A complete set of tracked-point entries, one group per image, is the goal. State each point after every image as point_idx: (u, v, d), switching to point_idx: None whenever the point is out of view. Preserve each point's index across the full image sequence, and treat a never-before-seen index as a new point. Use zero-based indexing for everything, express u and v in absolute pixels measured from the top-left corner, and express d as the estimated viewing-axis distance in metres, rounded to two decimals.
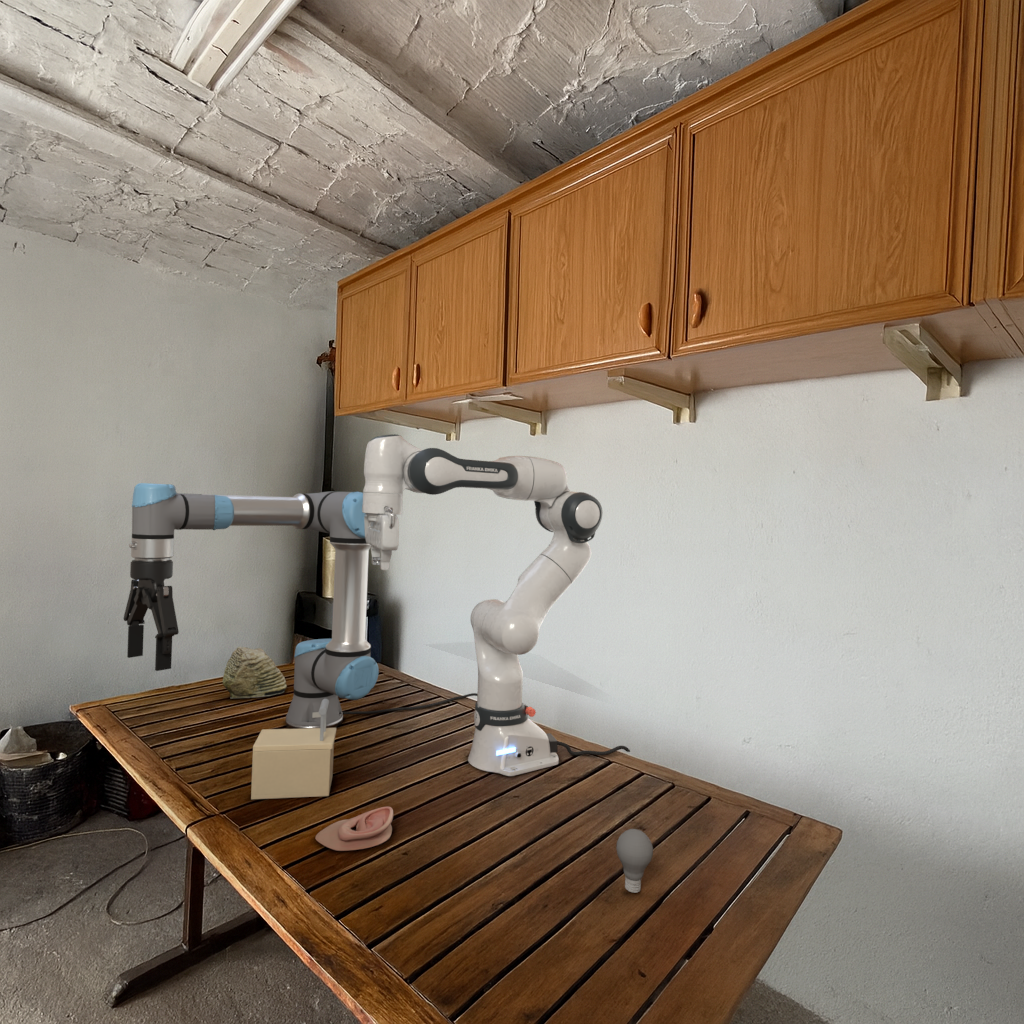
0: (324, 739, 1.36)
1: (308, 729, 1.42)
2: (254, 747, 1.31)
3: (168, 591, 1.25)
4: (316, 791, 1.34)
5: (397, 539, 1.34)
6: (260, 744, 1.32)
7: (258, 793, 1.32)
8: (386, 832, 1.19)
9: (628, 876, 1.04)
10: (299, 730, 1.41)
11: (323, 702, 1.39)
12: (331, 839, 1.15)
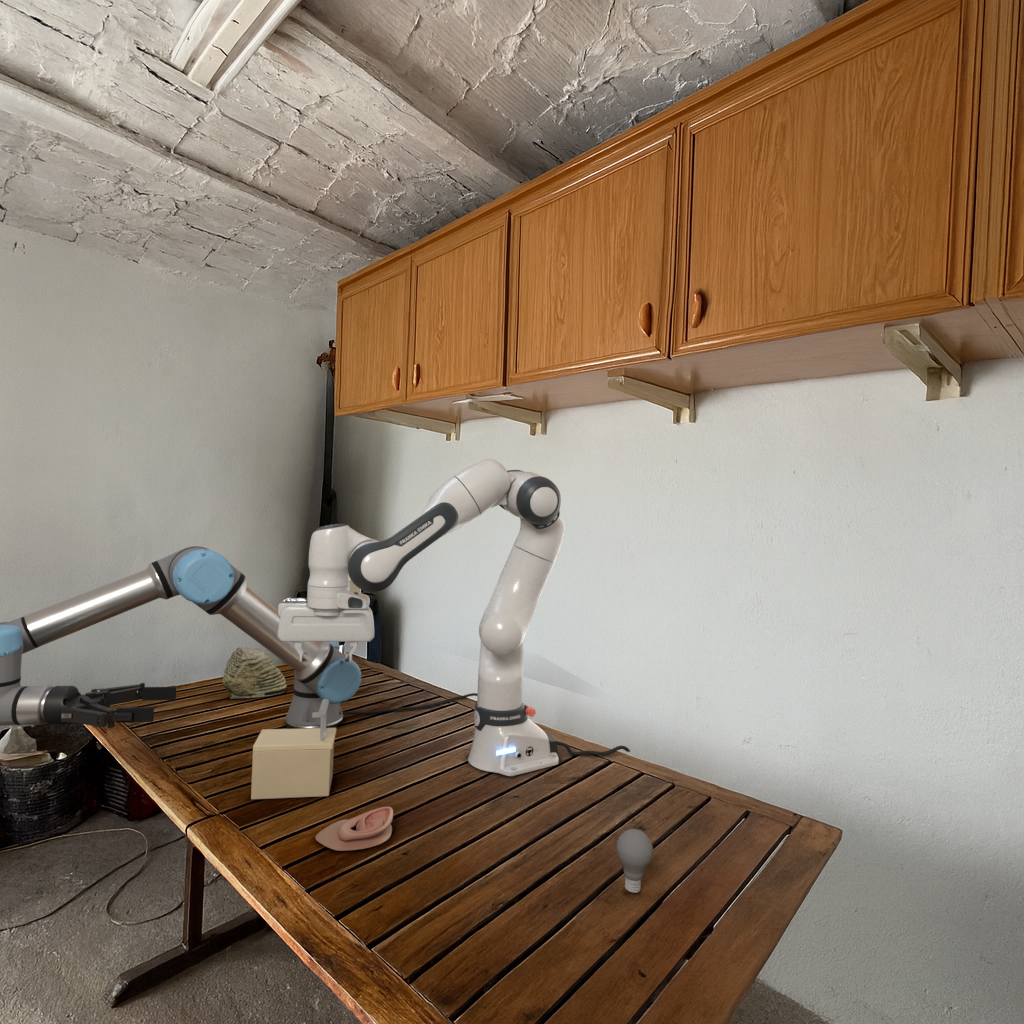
0: (324, 739, 1.36)
1: (308, 729, 1.42)
2: (254, 747, 1.31)
3: (66, 713, 1.22)
4: (316, 791, 1.34)
5: (278, 630, 1.35)
6: (260, 744, 1.32)
7: (258, 793, 1.32)
8: (386, 832, 1.19)
9: (628, 876, 1.04)
10: (299, 730, 1.41)
11: (323, 702, 1.39)
12: (331, 839, 1.15)
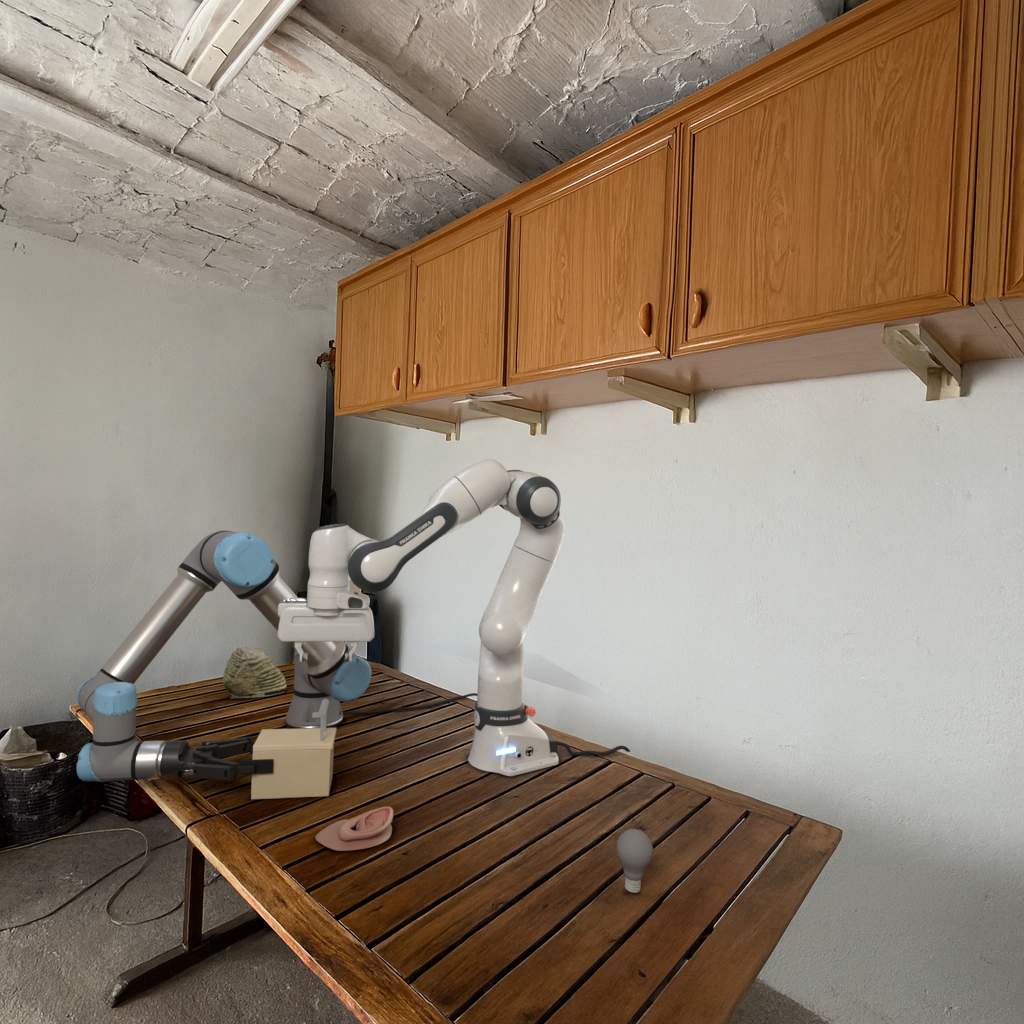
0: (324, 739, 1.36)
1: (308, 729, 1.42)
2: (254, 747, 1.31)
3: (188, 770, 1.27)
4: (316, 791, 1.34)
5: (278, 630, 1.35)
6: (260, 744, 1.32)
7: (258, 793, 1.32)
8: (386, 832, 1.19)
9: (628, 876, 1.04)
10: (299, 730, 1.41)
11: (323, 702, 1.39)
12: (331, 839, 1.15)
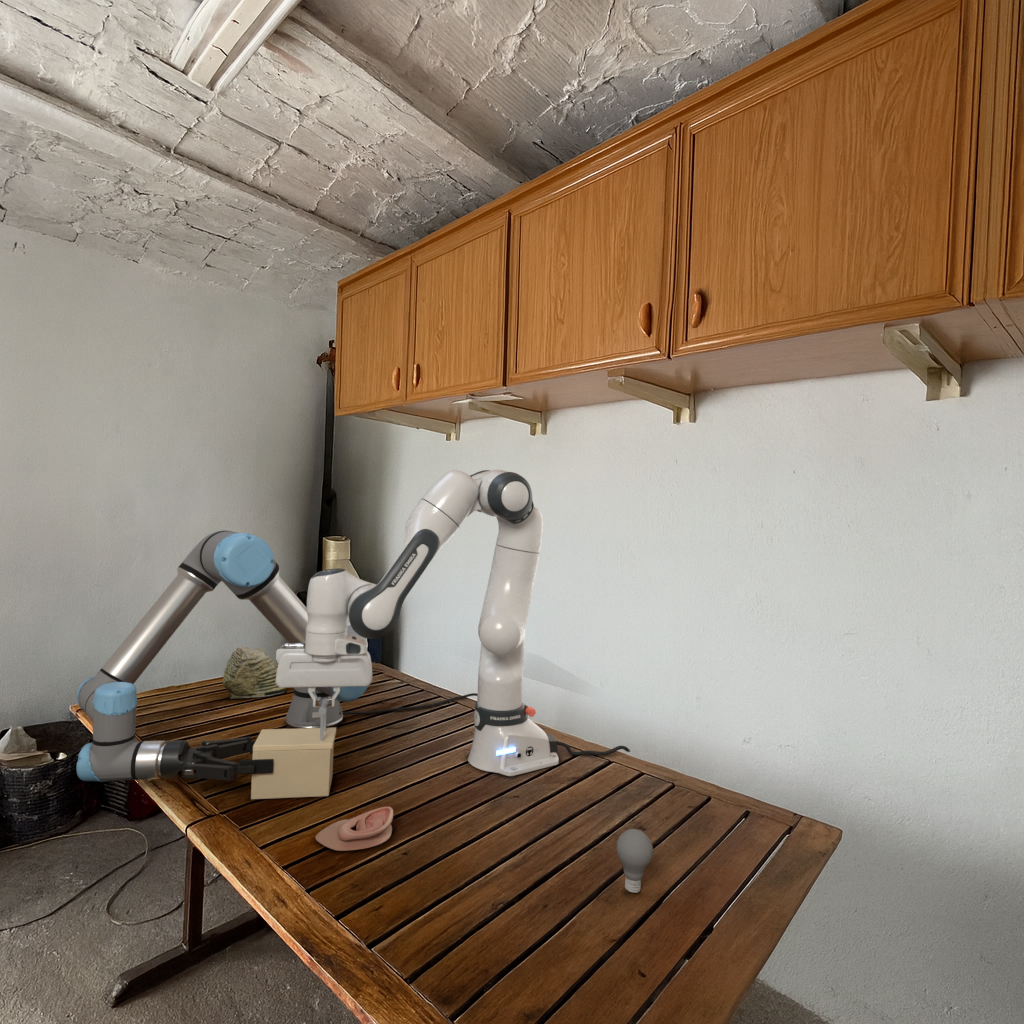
0: (324, 739, 1.36)
1: (308, 729, 1.42)
2: (254, 747, 1.31)
3: (188, 770, 1.27)
4: (316, 791, 1.34)
5: (276, 676, 1.35)
6: (260, 744, 1.32)
7: (258, 793, 1.32)
8: (386, 832, 1.19)
9: (628, 876, 1.04)
10: (299, 730, 1.41)
11: (323, 702, 1.39)
12: (331, 839, 1.15)
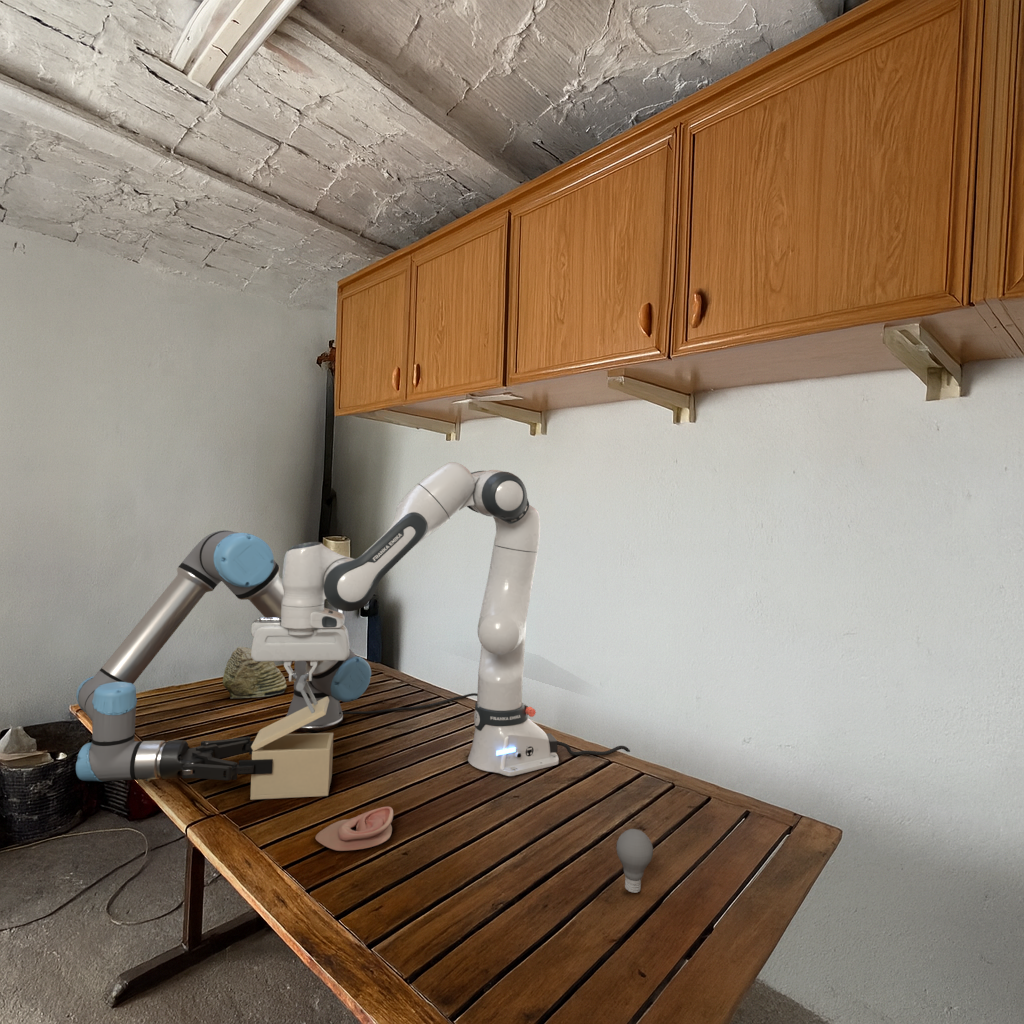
0: (316, 710, 1.36)
1: (301, 709, 1.41)
2: (252, 747, 1.31)
3: (187, 770, 1.27)
4: (315, 791, 1.34)
5: (251, 650, 1.34)
6: (257, 742, 1.32)
7: (257, 793, 1.31)
8: (386, 832, 1.19)
9: (628, 876, 1.04)
10: (293, 714, 1.40)
11: (299, 679, 1.38)
12: (331, 839, 1.15)
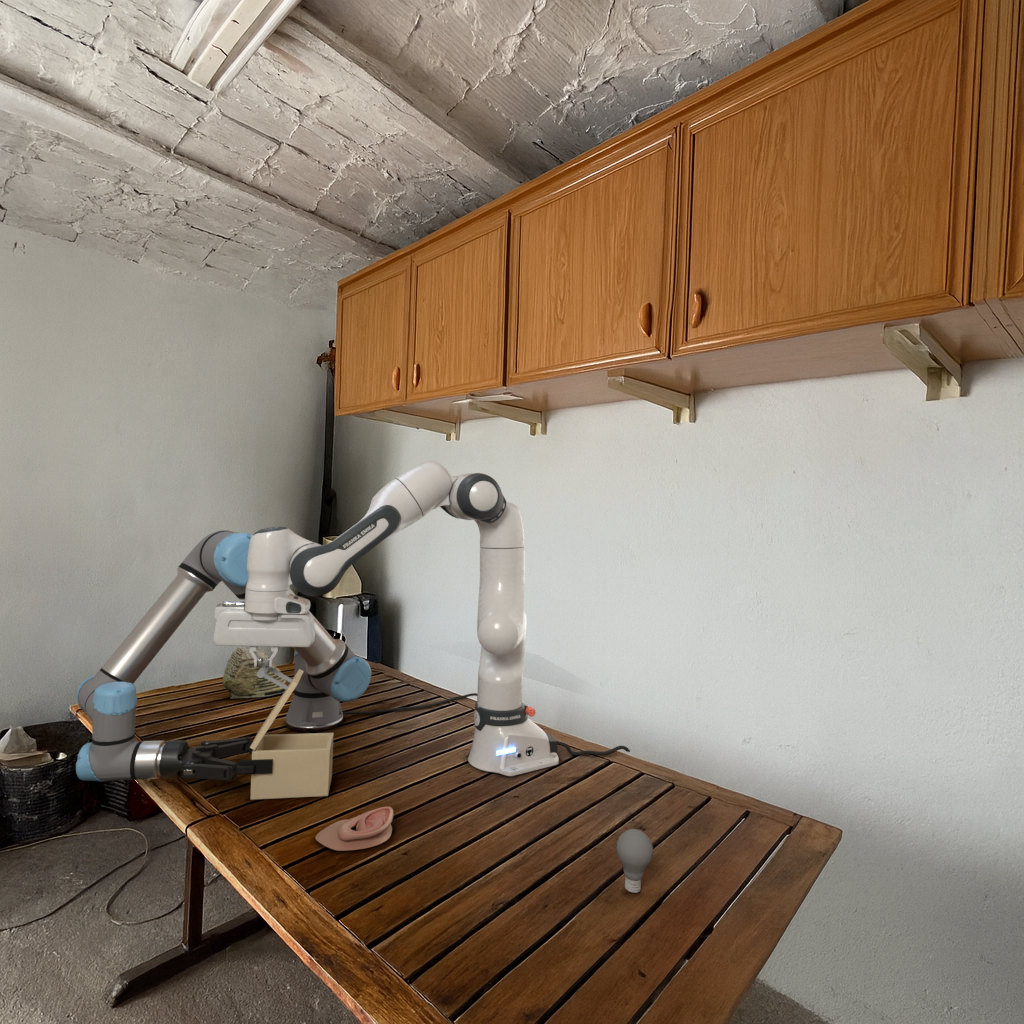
0: (289, 685, 1.35)
1: None
2: (251, 747, 1.31)
3: (187, 770, 1.27)
4: (315, 791, 1.34)
5: None
6: None
7: (257, 793, 1.31)
8: (386, 832, 1.19)
9: (628, 876, 1.04)
10: (278, 701, 1.40)
11: None
12: (331, 839, 1.15)
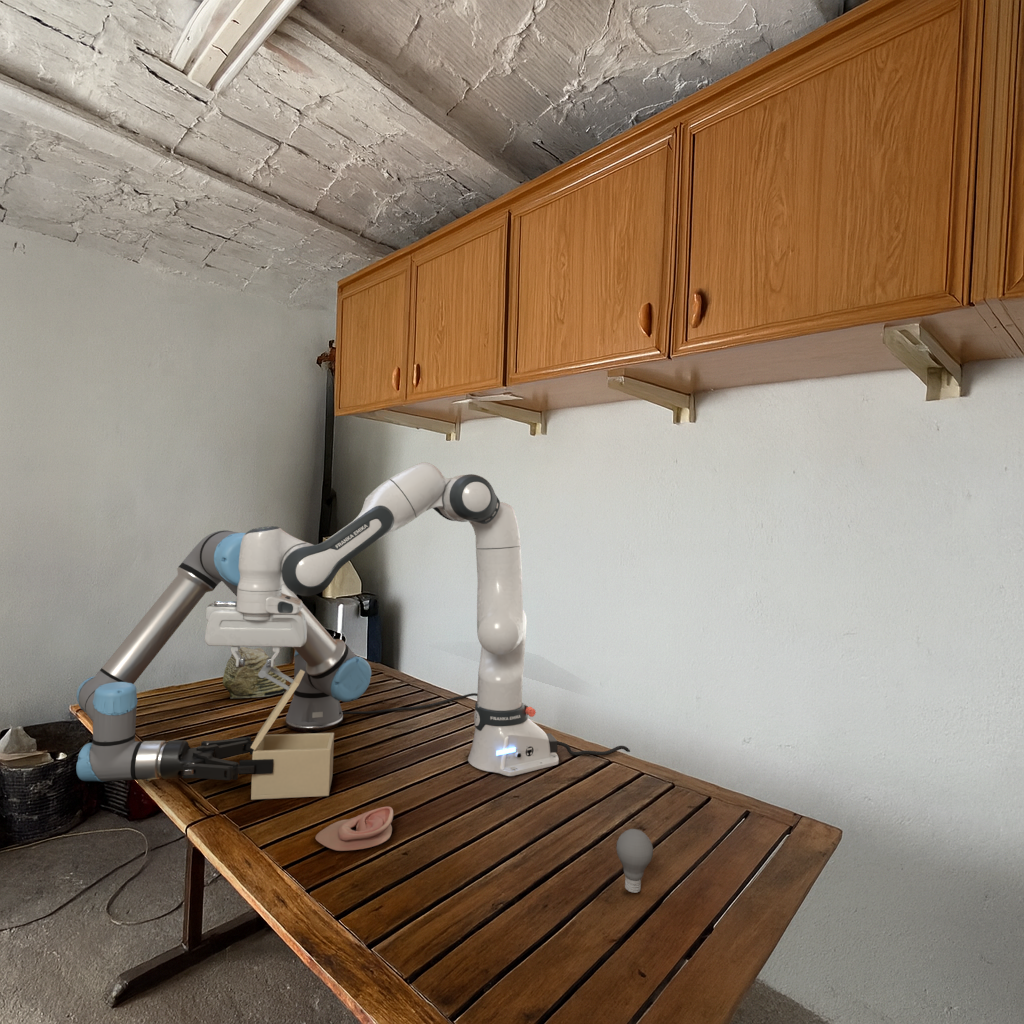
0: (291, 685, 1.35)
1: (284, 693, 1.40)
2: (252, 747, 1.31)
3: (188, 770, 1.27)
4: (316, 791, 1.34)
5: (205, 634, 1.32)
6: (254, 740, 1.32)
7: (258, 793, 1.32)
8: (386, 832, 1.19)
9: (628, 876, 1.04)
10: (279, 701, 1.40)
11: (262, 668, 1.36)
12: (331, 839, 1.15)
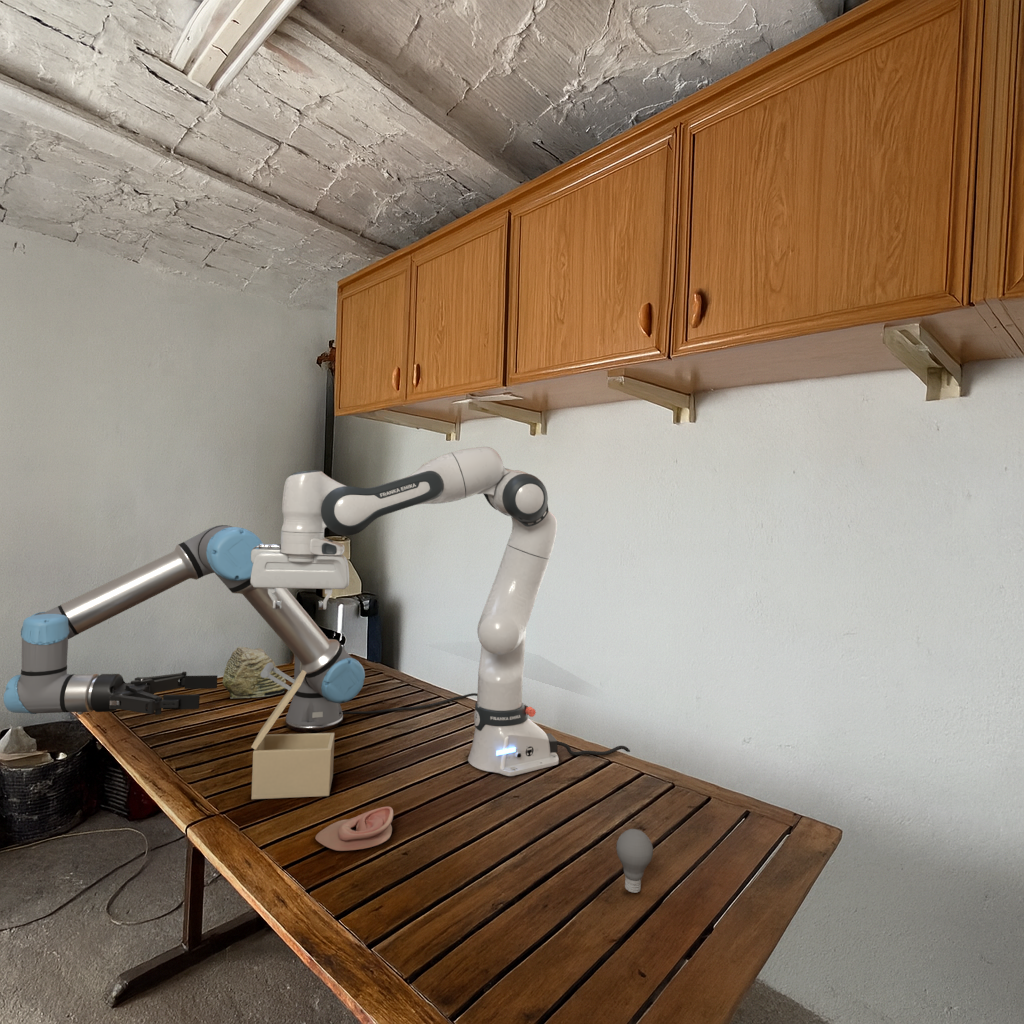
0: (292, 686, 1.35)
1: (286, 693, 1.41)
2: (252, 746, 1.31)
3: (114, 700, 1.24)
4: (316, 791, 1.34)
5: None
6: (255, 740, 1.32)
7: (258, 793, 1.32)
8: (386, 832, 1.19)
9: (628, 876, 1.04)
10: (280, 701, 1.40)
11: (264, 668, 1.36)
12: (331, 839, 1.15)
